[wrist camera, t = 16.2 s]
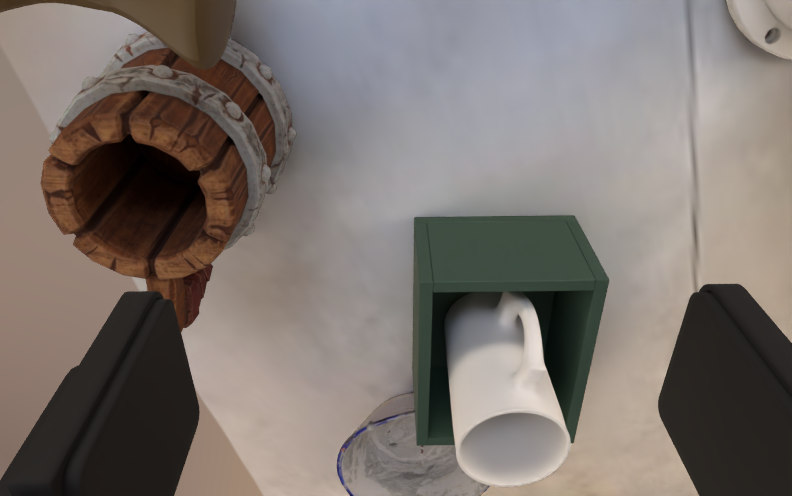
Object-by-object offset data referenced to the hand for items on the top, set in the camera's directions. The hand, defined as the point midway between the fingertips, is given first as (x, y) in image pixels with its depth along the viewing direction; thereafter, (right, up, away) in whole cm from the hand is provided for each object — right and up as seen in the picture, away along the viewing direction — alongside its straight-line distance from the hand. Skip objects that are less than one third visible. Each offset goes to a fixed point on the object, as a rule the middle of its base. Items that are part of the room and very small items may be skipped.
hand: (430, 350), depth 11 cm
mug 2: (+6, -2, +34) cm, 35 cm away
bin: (+6, -2, +35) cm, 35 cm away
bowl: (+1, -13, +42) cm, 44 cm away
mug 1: (-13, +9, +28) cm, 32 cm away
